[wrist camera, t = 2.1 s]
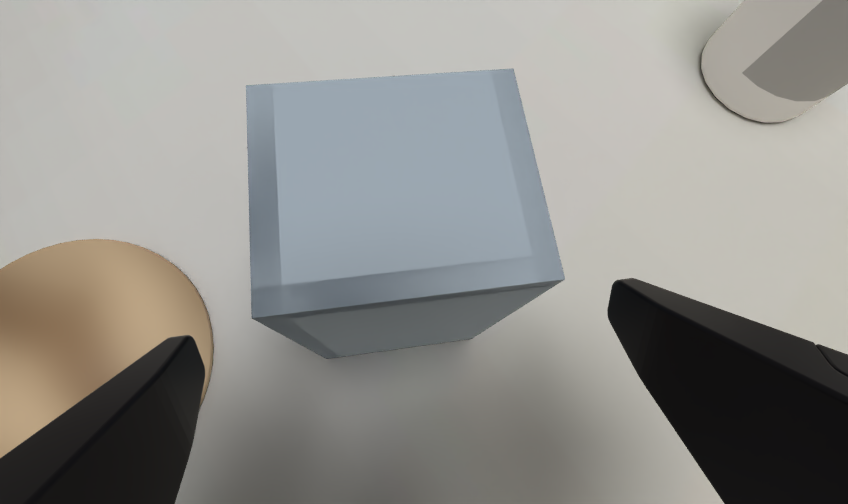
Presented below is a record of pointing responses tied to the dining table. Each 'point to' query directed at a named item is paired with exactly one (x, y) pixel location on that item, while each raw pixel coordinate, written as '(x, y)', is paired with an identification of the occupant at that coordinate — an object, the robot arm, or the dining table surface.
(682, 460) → the dining table surface
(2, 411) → the coaster
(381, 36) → the dining table surface
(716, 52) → the spray bottle
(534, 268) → the blue-grey open box
